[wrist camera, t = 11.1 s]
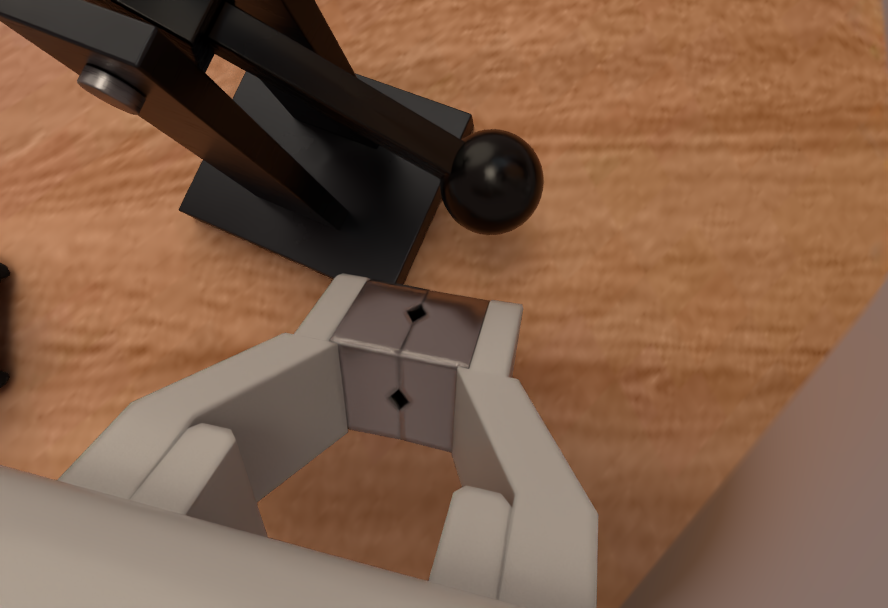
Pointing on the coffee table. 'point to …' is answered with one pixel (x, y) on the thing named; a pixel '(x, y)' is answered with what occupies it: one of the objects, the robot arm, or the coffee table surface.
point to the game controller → (3, 272)
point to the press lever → (359, 109)
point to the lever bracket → (257, 137)
